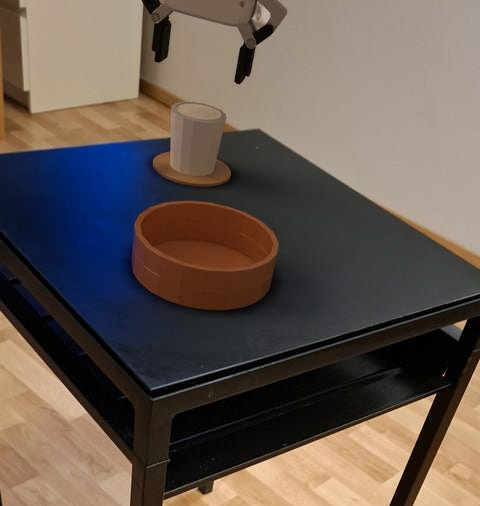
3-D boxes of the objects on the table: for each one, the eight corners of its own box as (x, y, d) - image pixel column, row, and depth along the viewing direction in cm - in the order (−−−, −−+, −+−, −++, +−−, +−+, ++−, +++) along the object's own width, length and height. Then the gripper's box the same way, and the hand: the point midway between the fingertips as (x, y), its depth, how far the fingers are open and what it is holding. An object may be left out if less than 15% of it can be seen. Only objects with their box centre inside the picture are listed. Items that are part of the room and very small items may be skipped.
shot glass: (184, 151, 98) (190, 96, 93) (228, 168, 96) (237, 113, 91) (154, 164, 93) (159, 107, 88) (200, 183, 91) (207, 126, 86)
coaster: (136, 163, 94) (136, 158, 93) (192, 150, 100) (193, 145, 100) (190, 194, 89) (191, 190, 89) (246, 179, 96) (246, 174, 95)
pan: (102, 260, 74) (104, 219, 71) (202, 228, 83) (207, 190, 80) (201, 328, 68) (207, 286, 65) (297, 285, 77) (306, 247, 74)
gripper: (133, -125, 73) (118, 58, 84) (301, -82, 72) (264, 98, 83) (156, -127, 79) (140, 45, 90) (312, -87, 78) (276, 82, 89)
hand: (200, 70), depth 86 cm, fingers open, 9 cm apart
